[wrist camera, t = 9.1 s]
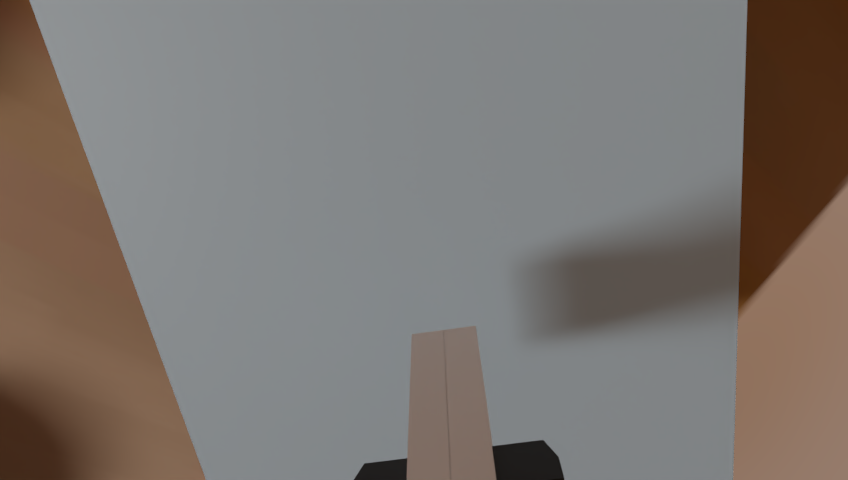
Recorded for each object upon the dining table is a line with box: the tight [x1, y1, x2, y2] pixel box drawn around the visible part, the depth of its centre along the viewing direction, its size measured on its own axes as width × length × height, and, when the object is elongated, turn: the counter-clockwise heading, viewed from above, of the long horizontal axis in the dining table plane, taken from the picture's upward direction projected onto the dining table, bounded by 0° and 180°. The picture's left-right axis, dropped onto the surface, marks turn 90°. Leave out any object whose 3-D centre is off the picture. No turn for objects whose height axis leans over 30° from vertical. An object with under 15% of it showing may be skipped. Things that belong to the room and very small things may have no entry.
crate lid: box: [29, 0, 747, 480], centre depth 19 cm, size 20×16×1 cm
